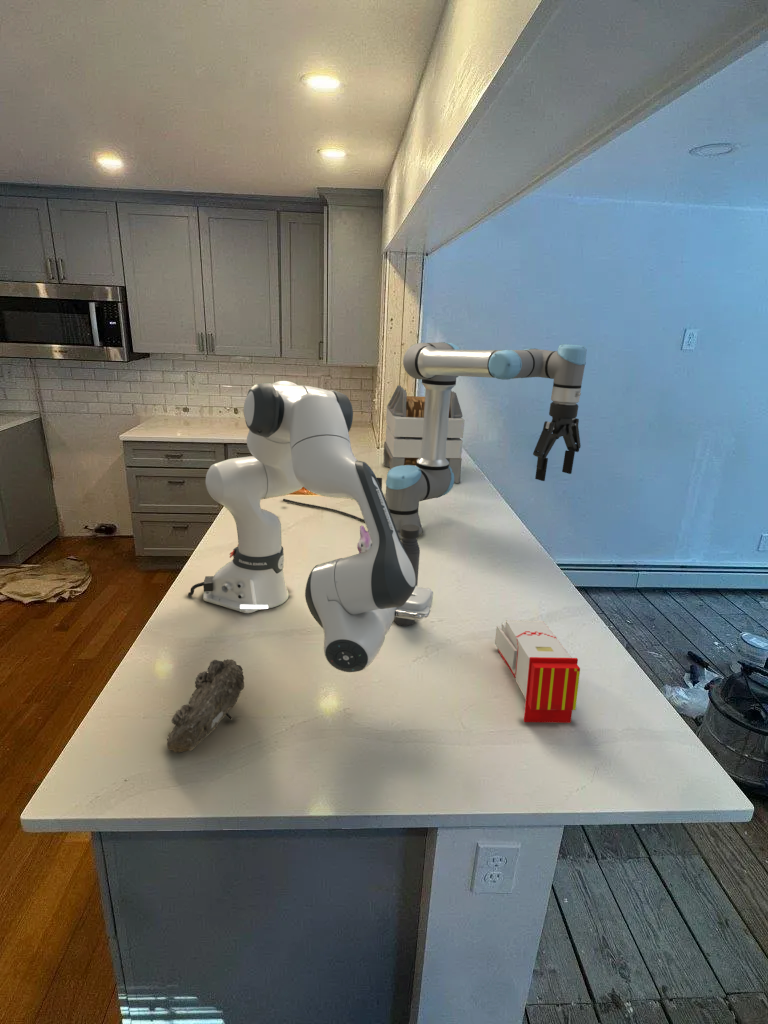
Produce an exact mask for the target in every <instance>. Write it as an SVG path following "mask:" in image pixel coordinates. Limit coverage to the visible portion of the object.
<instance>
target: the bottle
mask: <svg viewBox="0 0 768 1024" xmlns="http://www.w3.org/2000/svg"><path fill="white" fill-rule="evenodd" d="M401 542H402V545H403V547H404V549H405V551H406V553H407V555H408V558H409V560H410V562H411V564H412V566H413V569H414V572H415V578H416V585H417V586H418V584H419V568H420V555H421V554H420V553H421V552H420V551H421V549H420V545H419V542H418V538H415V539H407V538H404V537H403V539H402V540H401ZM393 622H395V624H397V625H399V626H403V627H404V626H405V627H406V626H412V625H414V624H415V622H416V620H412V619H406V618H399V617H395V618H394V621H393Z"/></svg>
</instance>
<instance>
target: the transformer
mask: <svg viewBox="0 0 768 1024" xmlns="http://www.w3.org/2000/svg"><path fill="white" fill-rule="evenodd" d="M407 394H408V393H407V390H406V389H404V388H403V387H402V385H399V384H398V385H397V386H396V388H395V390H394V392H393V394H392V395H391V398H390V400H389V402H388V404H387V405H386V413H385V414H386V415H385V423H386V428H385V438H384V442H383V466H384V467H388V468H389V470H390V469H392V468H394V467H396V466H401V465H404V466H405V465H413V466H416V461H417V459H418V458H420V457H421V450H422V436H423V421H424V406H425V396H415V395H414V396H413V395H412V396H411V395H407ZM464 429H465V419H464V418H463V411H462V408H461V405H460V402H459V398H458V395H457V392H455V391H453V390H451V394H450V406H449V418H448V430H447V442H446V454H445V458H446V459H447V461H448V462H449V466H450V467H451V469H452V473H454V484H455V483H456V484H459V483H461V472H462V461H463V460H462V453H463V442H464V441H463V440H462V439H463V438H464V431H465V430H464Z"/></svg>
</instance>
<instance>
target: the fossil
mask: <svg viewBox="0 0 768 1024" xmlns="http://www.w3.org/2000/svg"><path fill="white" fill-rule="evenodd" d="M243 670H244V669H243V667H242V665H240V664H237V662H236V661H235V660H234V659H232V658H231V659H227V658H226V659H224V660H223V661H222V660H217V659H212V660H211V661H210V663H209V665H208V666H207V671H201V672H199V673H198V674H197V675H196V676H195V680H194V684H195V685H194V687H195V689H194V690H193V693H192V694H191V697H190V698H189V700H188V704H184V705H182V706H181V707H180V709H177V710H176V711H175V713H174V715H173V716H172V718H171V723H172V724H173V727H172V730H171V731H170V732H168V734H167V738H166V741H167V742H166V745H167V749H168V750H169V751H173V752H174V753H176V754H178V753H182V752H188V751H189V752H192V751H193V750H195V748H196V747H197V746H199V744H200V743H201V742H203V741H204V740H205V739H206V738H207V737H208V736H209V735H210V734H211V733H212V732H214V730H215V729H217V727H218V726H219V724H220V722H221V721H222V720H223V719H224V718H225V716H226V717H227V719H229V720H233V717H232V715H230V714H229V710H230V709H231V708H234V706H235V704H236V703H237V702H238V699H239V697H240V695H241V693H242V691H243V690H245V689H244V688H245V675H244V671H243Z"/></svg>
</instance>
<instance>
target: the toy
mask: <svg viewBox="0 0 768 1024" xmlns="http://www.w3.org/2000/svg"><path fill="white" fill-rule="evenodd" d="M494 645H495V647H496V648H497V651H498V653H499V654H500V656H501V658H502V660H503V661H504V663H505V665H506V666H507V668H508V670H509V671H510V673H511V675H512V676H513V678H514V679H515V682H516V684H517V686H518V688H519V690H520V692H521V693H522V695H523V697H524V699H525V701H524V703H525V705H524V712H523V713H524V714H523V722H524V723H550V724H551V723H552V724H553V723H554V724H556V723H557V724H558V723H559V724H561V723H562V724H571V723H572V717H573V716H572V715H573V711H576V708H577V699H578V692H579V682H580V674H581V667H580V666H579V664H578V663H579V662H578V661H579V659H578V658H577V657H572V656H571V655H570V653H569V652H568V651H567V649H566V648H565V647H564V645H563V644H562V643H561V641H560V639H558V637H556V635H555V634H554V632H553V631H552V630H551V628H550V626H549V625H547V623H546V622H545V621H544V620H517V619H516V620H513V619H512V620H511V619H510V620H509V619H506V620H505V622H501V627H500V626H499V625H497V626H496V628H495V637H494Z"/></svg>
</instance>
